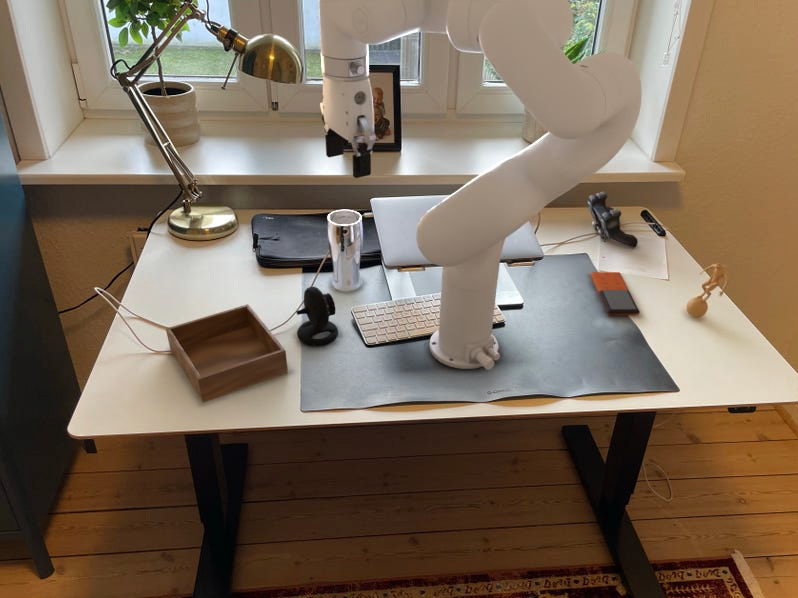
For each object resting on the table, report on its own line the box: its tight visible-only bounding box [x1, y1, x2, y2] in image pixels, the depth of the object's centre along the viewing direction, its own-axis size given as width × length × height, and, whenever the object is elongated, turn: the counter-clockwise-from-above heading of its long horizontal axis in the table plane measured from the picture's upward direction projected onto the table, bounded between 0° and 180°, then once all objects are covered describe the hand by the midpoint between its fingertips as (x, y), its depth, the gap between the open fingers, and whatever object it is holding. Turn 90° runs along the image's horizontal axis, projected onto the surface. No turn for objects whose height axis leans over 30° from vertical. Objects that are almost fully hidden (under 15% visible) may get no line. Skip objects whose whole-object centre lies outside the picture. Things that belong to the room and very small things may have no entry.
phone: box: [590, 271, 640, 316], centre depth 152 cm, size 6×1×15 cm
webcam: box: [296, 286, 339, 347], centre depth 135 cm, size 8×8×10 cm
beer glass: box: [326, 209, 364, 293], centre depth 148 cm, size 7×7×15 cm
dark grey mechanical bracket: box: [586, 191, 639, 249], centre depth 172 cm, size 16×7×10 cm, turn 10°
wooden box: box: [165, 303, 289, 403], centre depth 129 cm, size 16×15×5 cm
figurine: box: [685, 262, 730, 318], centre depth 145 cm, size 8×6×12 cm
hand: (348, 165), depth 130 cm, fingers open, 9 cm apart
